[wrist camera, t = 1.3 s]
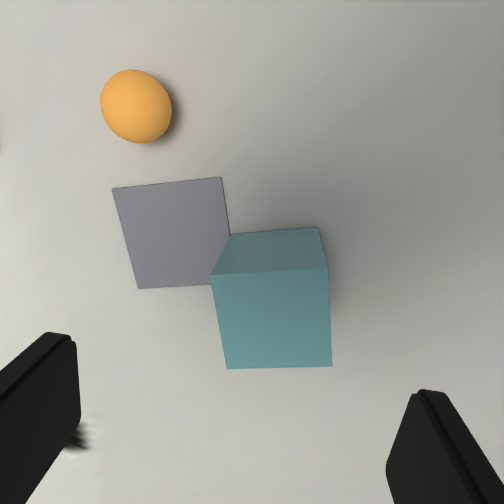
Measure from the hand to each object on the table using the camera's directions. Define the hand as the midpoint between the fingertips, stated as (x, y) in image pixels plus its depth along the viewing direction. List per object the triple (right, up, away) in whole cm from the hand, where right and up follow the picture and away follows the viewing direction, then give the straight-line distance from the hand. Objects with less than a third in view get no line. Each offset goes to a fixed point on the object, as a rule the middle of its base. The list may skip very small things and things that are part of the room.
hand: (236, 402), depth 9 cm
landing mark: (-7, +6, +22) cm, 23 cm away
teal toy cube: (+3, +3, +22) cm, 22 cm away
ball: (-8, +15, +16) cm, 23 cm away
